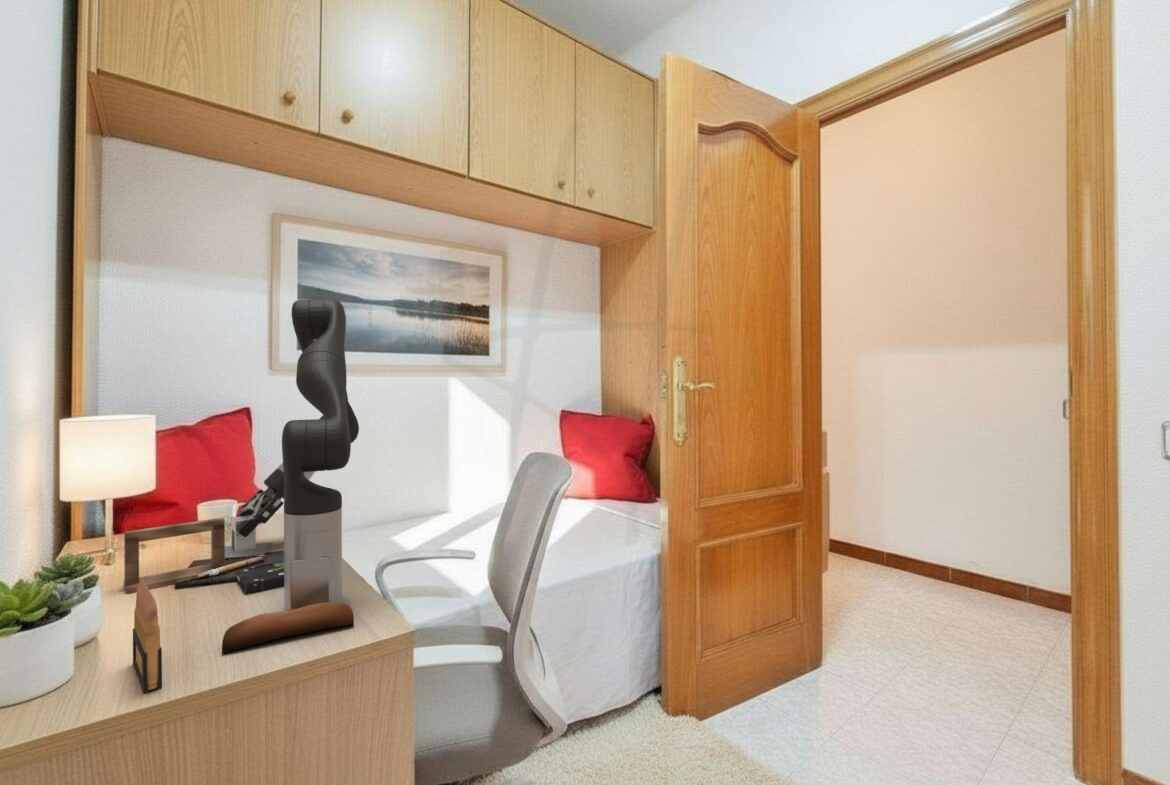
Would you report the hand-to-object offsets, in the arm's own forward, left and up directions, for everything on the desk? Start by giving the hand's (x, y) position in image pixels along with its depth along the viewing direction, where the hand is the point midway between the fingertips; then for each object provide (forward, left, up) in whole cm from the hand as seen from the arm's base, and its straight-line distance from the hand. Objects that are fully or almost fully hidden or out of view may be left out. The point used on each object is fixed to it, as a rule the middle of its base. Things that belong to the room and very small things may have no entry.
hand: (236, 531), depth 125 cm
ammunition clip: (-57, -3, -5) cm, 58 cm away
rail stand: (-15, +7, -5) cm, 18 cm away
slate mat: (+1, -1, -5) cm, 5 cm away
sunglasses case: (-49, -19, -6) cm, 53 cm away
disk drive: (-22, -13, -6) cm, 27 cm away
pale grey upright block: (+1, -1, -5) cm, 5 cm away
